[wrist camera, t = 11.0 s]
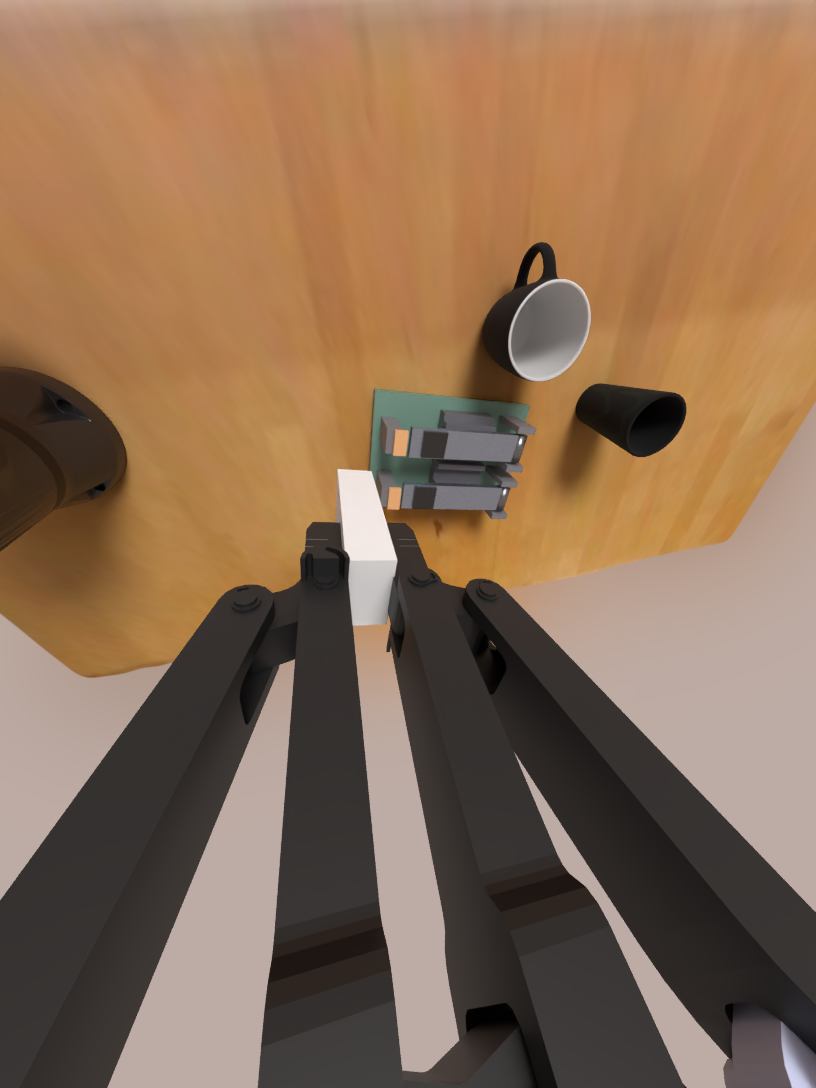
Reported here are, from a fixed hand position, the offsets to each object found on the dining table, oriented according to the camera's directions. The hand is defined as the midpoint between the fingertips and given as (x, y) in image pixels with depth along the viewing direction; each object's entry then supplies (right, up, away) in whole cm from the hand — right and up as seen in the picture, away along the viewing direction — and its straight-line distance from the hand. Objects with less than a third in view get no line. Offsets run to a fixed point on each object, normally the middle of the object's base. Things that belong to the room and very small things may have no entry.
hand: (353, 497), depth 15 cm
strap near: (+10, +11, +28) cm, 32 cm away
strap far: (+9, +5, +33) cm, 34 cm away
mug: (+15, +26, +26) cm, 40 cm away
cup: (+30, +19, +35) cm, 50 cm away
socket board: (+8, +11, +35) cm, 37 cm away
